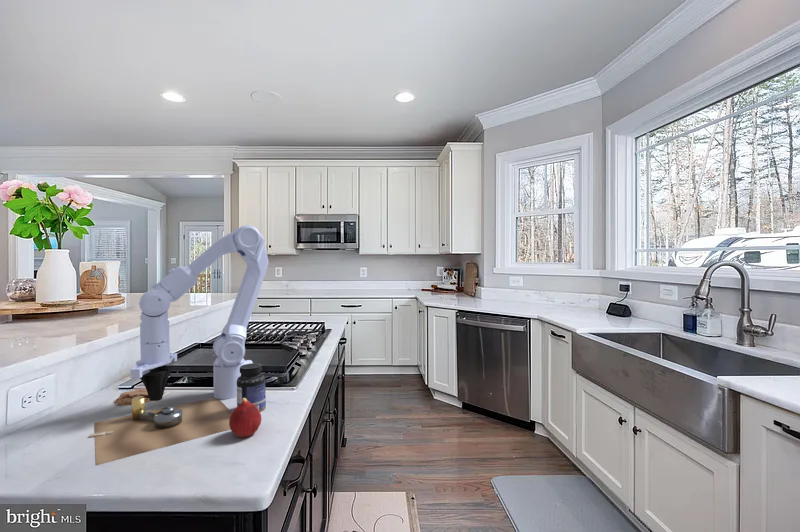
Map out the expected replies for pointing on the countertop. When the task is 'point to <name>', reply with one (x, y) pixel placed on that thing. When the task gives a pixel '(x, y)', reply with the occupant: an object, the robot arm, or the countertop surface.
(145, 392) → the cookie
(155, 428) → the brown cutting board
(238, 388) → the pill bottle
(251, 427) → the red rounded piece
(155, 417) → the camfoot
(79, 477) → the countertop surface
